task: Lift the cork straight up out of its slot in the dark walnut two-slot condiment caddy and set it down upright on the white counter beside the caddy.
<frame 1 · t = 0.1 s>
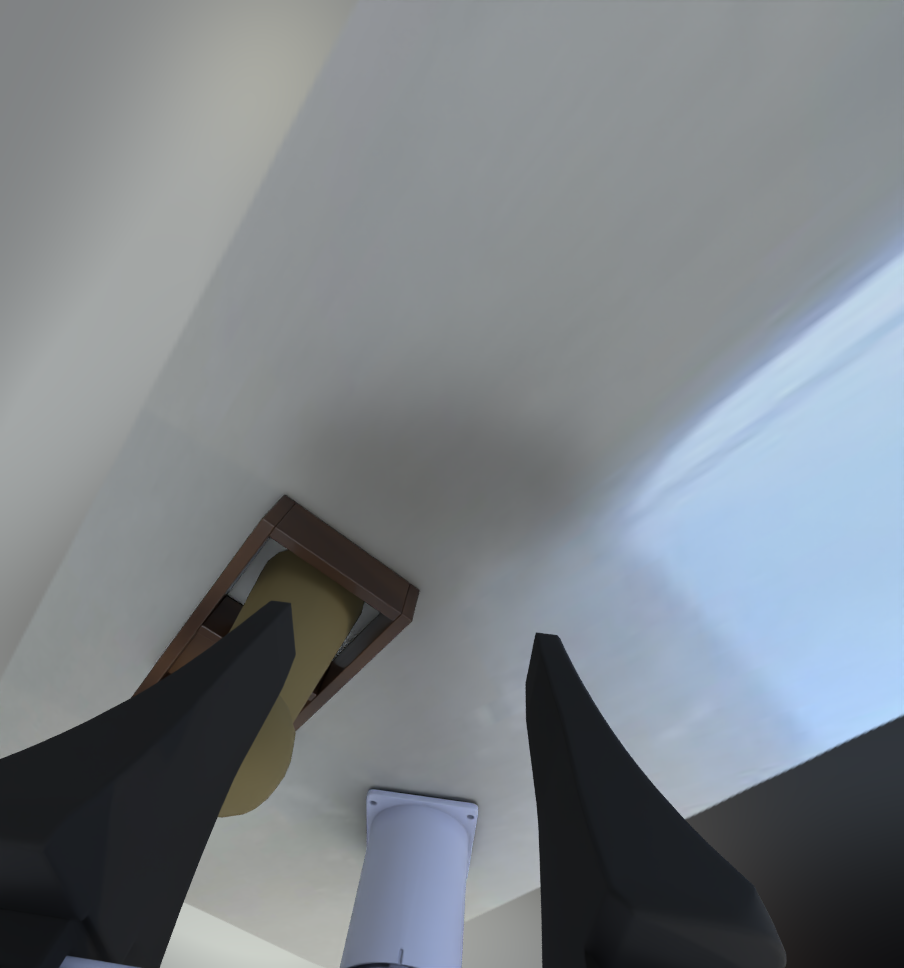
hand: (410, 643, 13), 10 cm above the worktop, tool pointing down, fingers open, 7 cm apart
caddy: (277, 632, 27), on the worktop
cork: (313, 590, 26), resting in caddy
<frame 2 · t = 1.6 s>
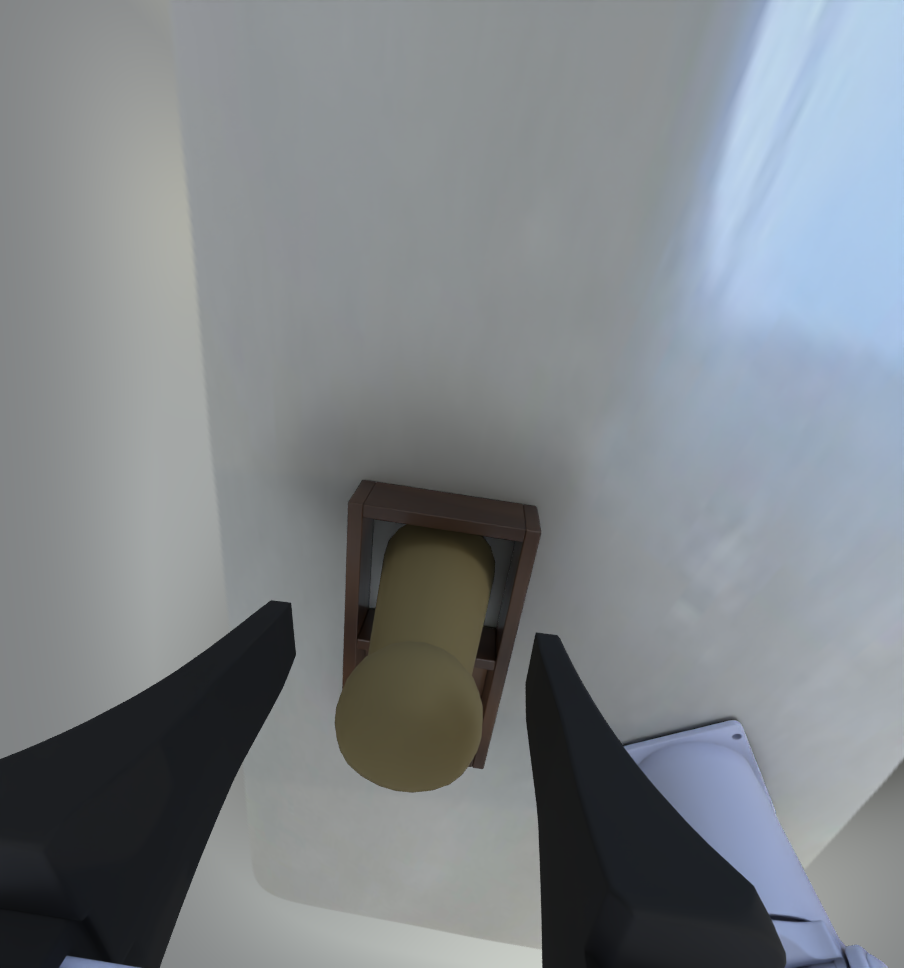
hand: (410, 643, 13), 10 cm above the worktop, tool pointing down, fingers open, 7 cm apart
caddy: (431, 622, 26), on the worktop
cork: (439, 563, 25), resting in caddy
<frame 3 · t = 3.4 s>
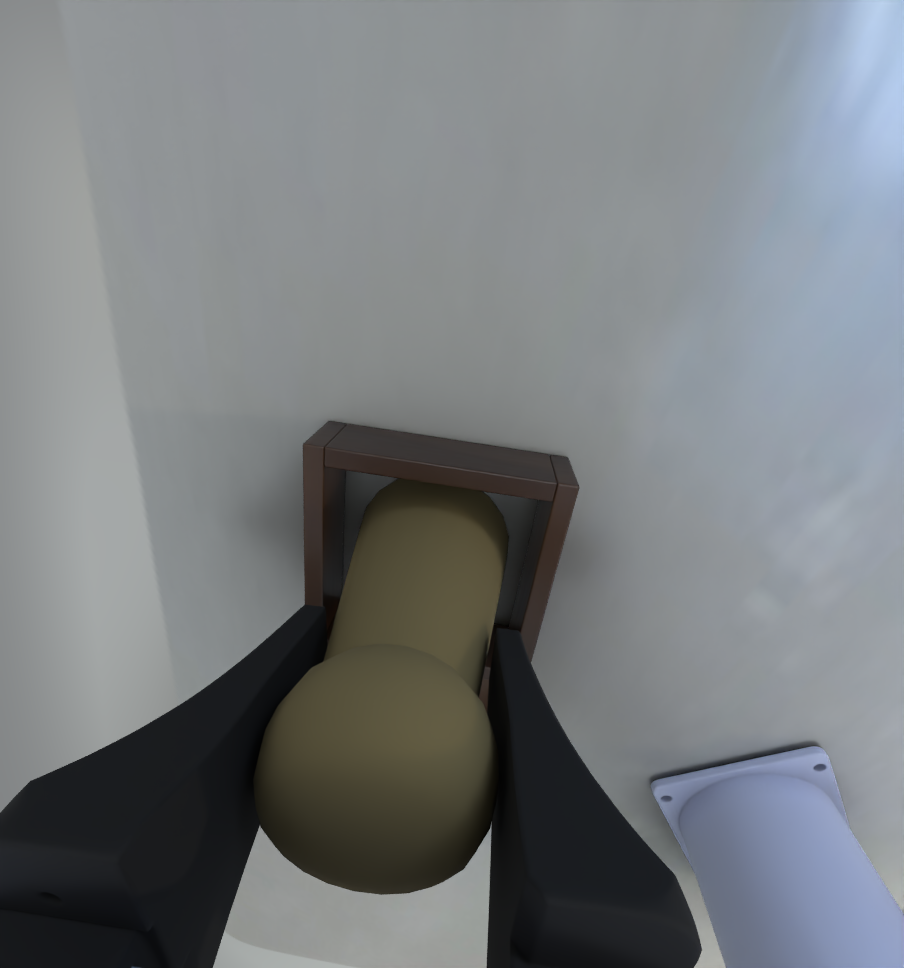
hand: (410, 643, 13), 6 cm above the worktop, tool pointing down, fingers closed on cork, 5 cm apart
caddy: (424, 618, 20), on the worktop
cork: (434, 539, 19), resting in caddy, touching gripper
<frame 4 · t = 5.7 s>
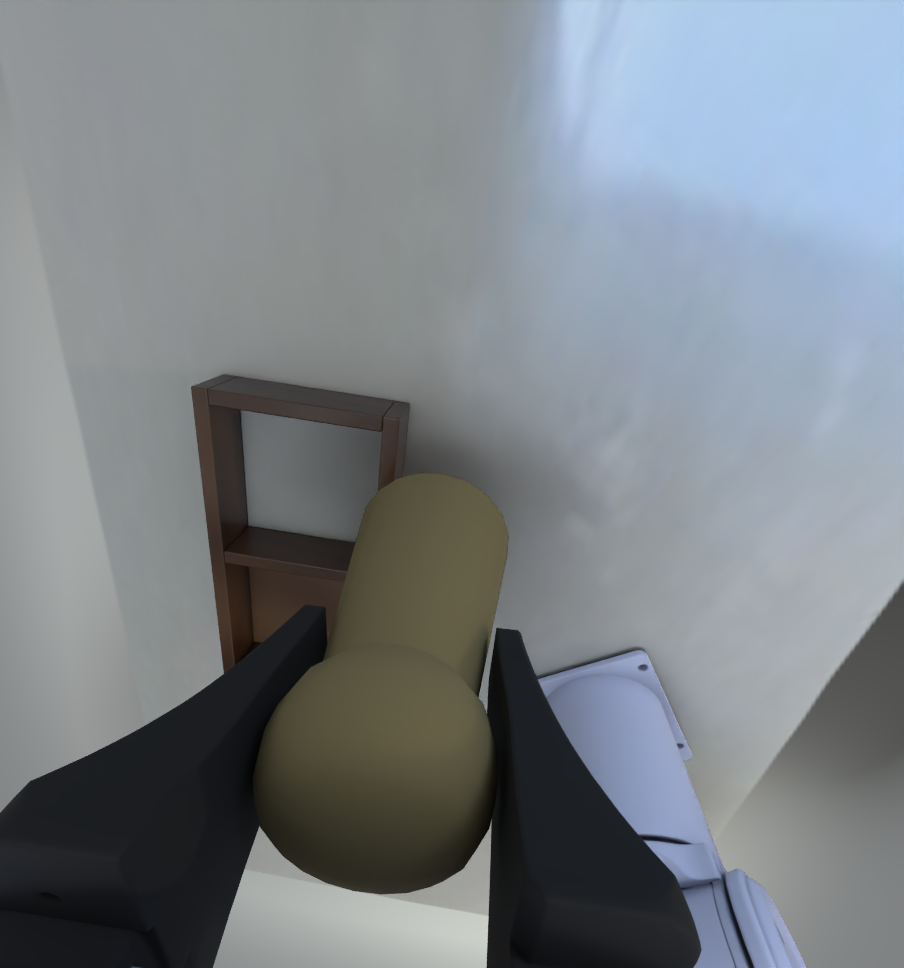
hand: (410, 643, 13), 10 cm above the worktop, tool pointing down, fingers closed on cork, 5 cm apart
caddy: (315, 542, 25), on the worktop
cork: (434, 538, 19), point 5 cm above the worktop, touching gripper
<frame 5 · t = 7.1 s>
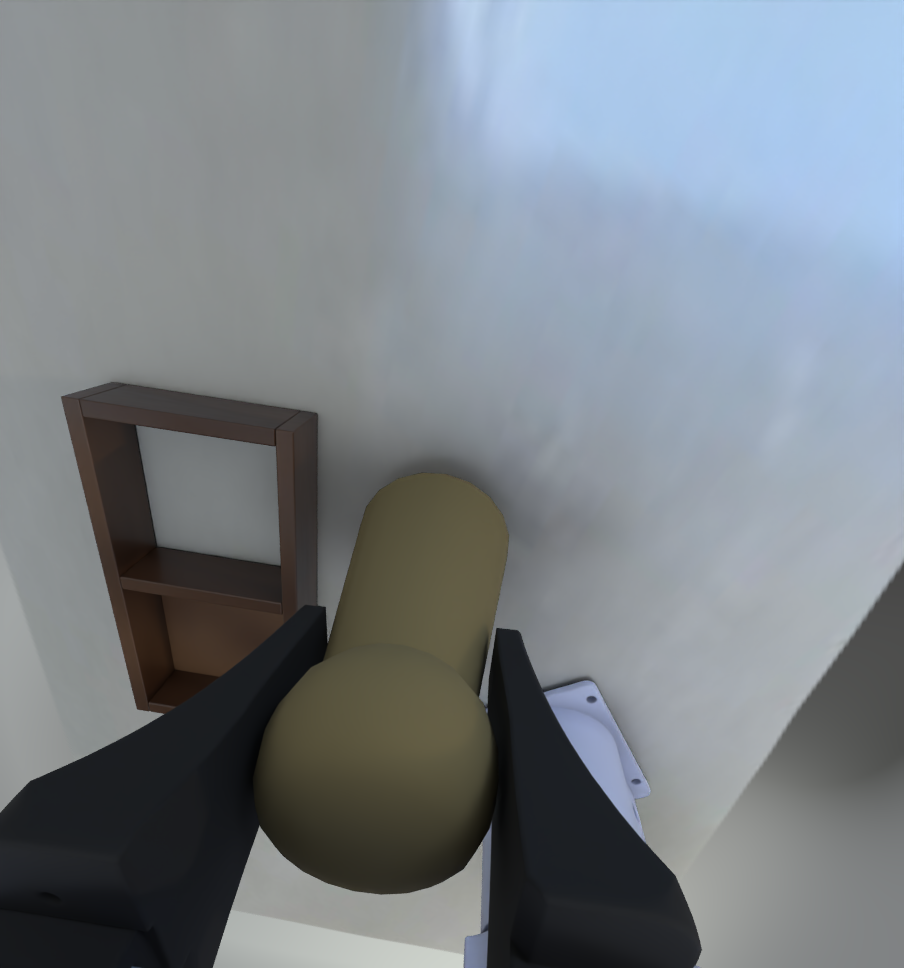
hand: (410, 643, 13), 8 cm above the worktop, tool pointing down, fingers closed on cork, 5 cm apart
caddy: (230, 563, 23), on the worktop
cork: (434, 538, 19), point 2 cm above the worktop, touching gripper
when the fingers open (6 cm above the worktop, at t = 8.4 s): cork stays where it is, on the worktop.
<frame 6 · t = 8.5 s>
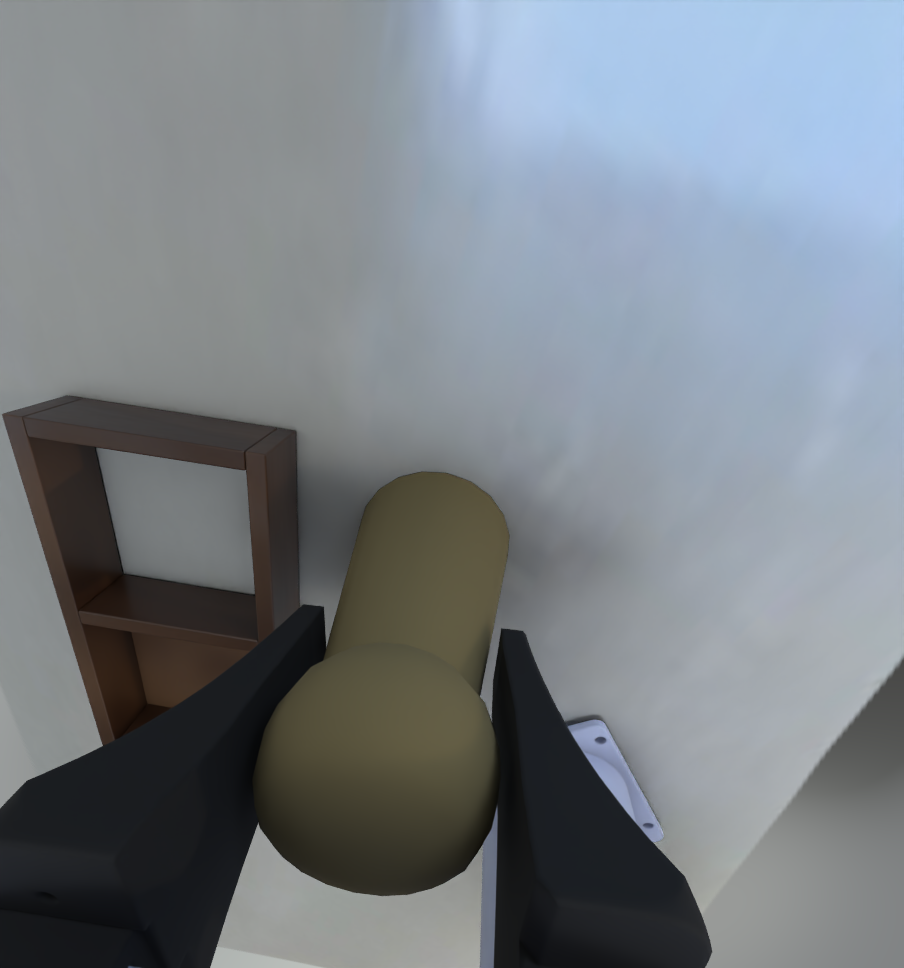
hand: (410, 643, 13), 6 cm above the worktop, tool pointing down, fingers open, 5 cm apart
caddy: (204, 593, 21), on the worktop
cork: (434, 538, 19), on the worktop
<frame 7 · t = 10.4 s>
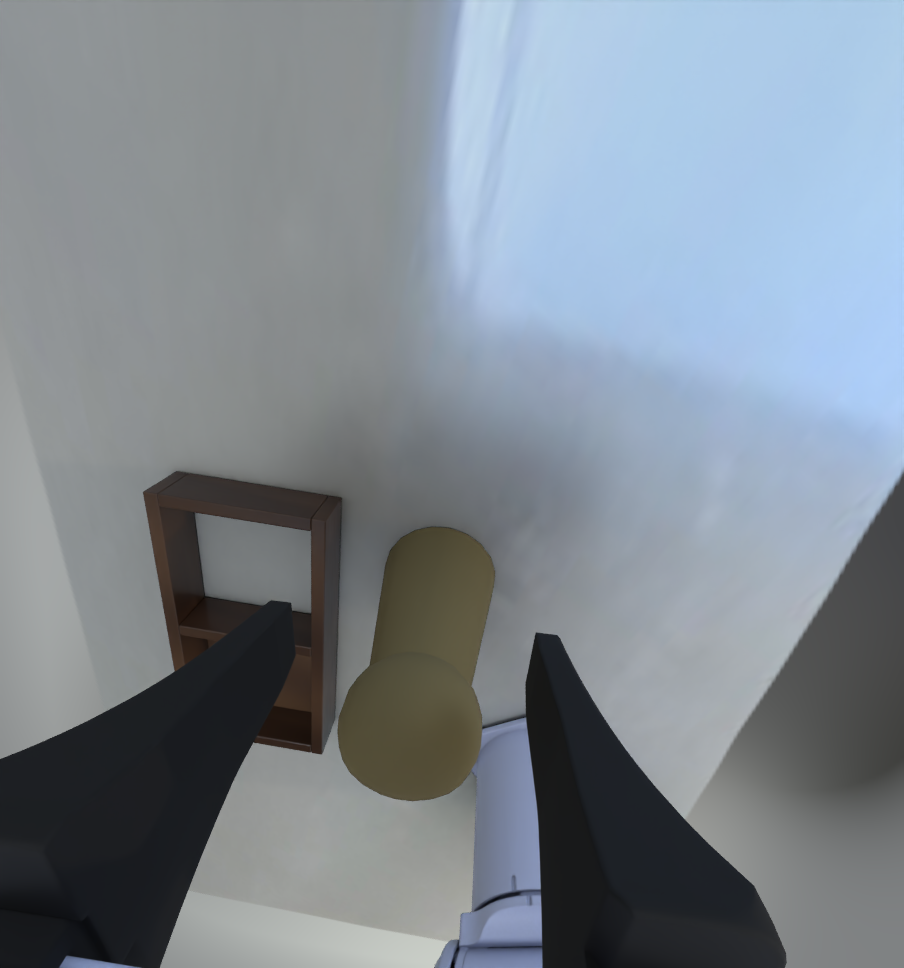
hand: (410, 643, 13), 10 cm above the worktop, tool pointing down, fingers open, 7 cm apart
caddy: (265, 611, 27), on the worktop
cork: (440, 572, 25), on the worktop
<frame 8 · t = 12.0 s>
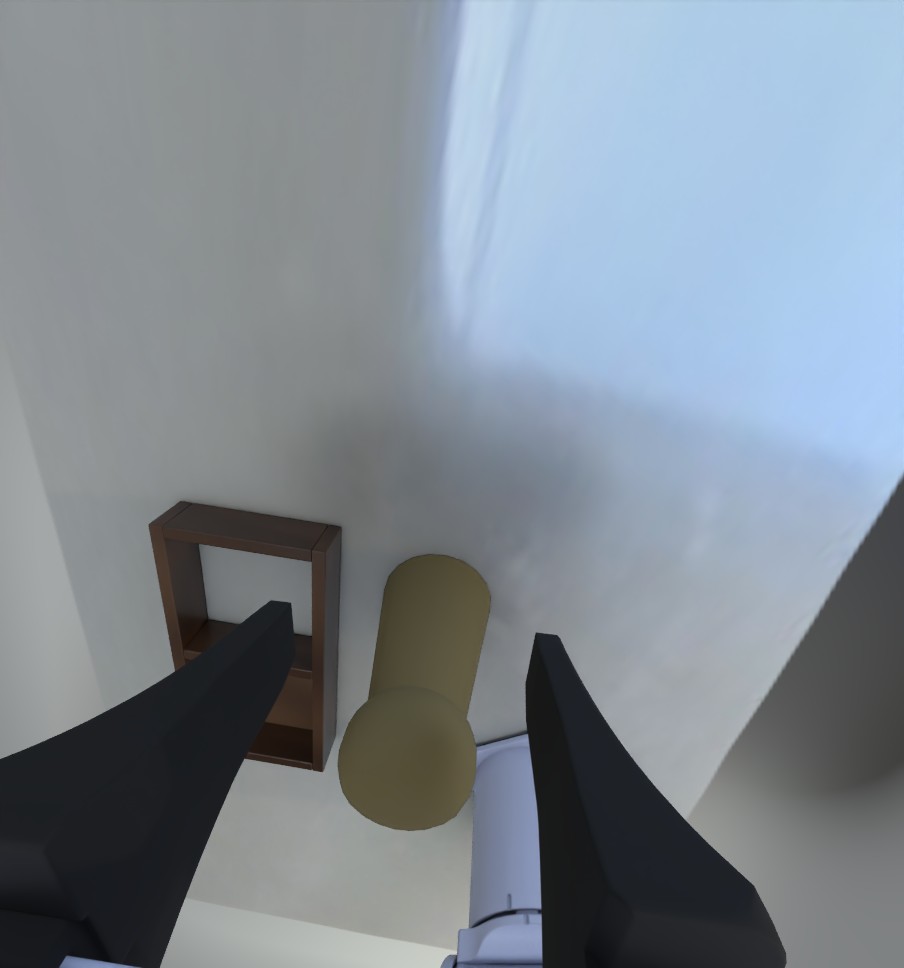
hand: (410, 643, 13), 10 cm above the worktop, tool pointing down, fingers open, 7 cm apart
caddy: (267, 633, 28), on the worktop
cork: (437, 597, 26), on the worktop
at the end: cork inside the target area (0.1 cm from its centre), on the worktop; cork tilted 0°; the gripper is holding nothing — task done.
